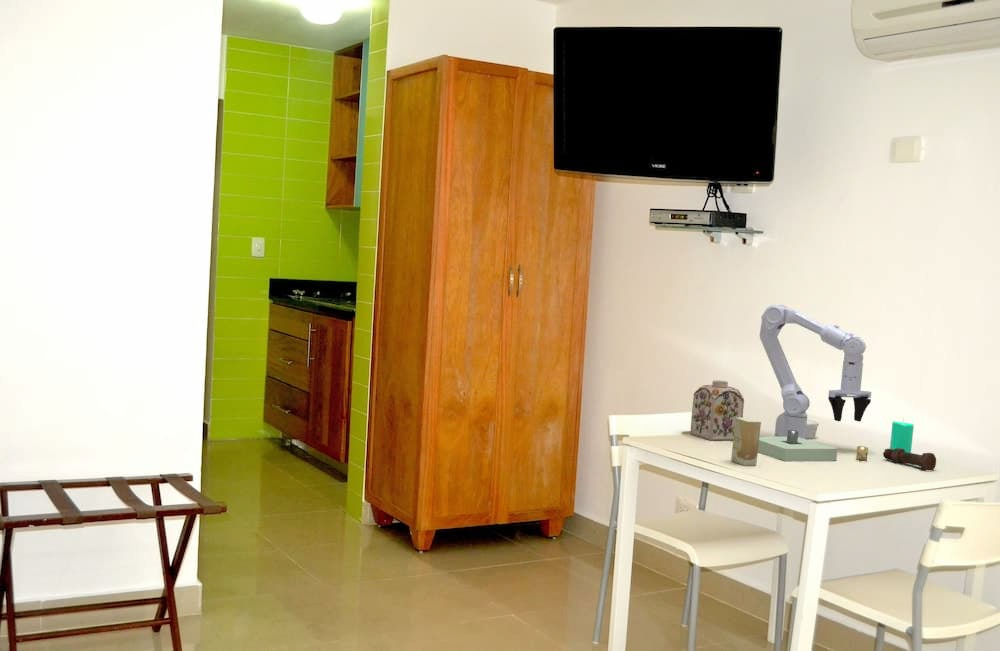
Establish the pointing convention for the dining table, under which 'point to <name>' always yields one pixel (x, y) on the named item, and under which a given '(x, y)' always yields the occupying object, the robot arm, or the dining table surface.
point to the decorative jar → (716, 411)
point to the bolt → (911, 458)
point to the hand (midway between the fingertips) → (847, 420)
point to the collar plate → (796, 449)
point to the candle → (901, 436)
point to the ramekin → (811, 429)
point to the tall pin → (792, 437)
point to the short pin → (862, 453)
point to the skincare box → (746, 441)
